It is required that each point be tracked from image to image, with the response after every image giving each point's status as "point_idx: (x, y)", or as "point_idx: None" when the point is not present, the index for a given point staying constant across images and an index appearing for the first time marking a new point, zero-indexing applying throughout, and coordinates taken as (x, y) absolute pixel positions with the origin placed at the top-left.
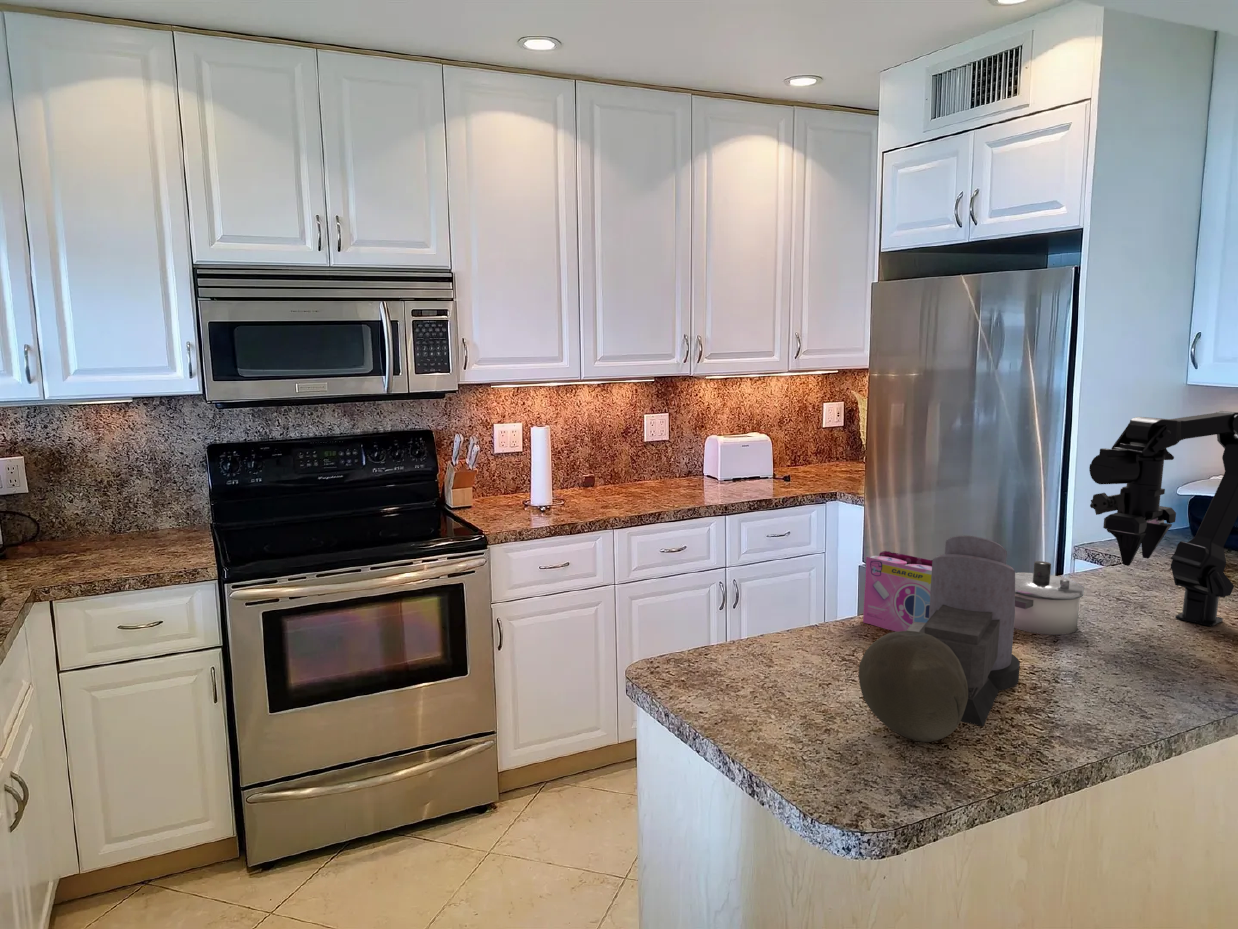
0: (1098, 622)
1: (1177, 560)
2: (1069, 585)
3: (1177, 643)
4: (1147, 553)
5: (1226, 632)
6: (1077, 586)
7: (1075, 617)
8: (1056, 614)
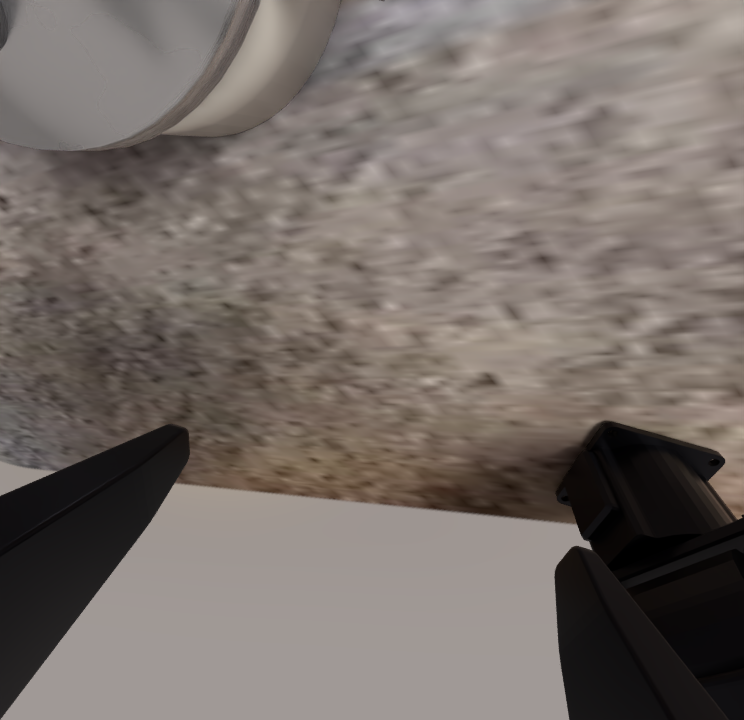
0: (386, 191)
1: (737, 674)
2: (73, 23)
3: (327, 418)
4: (572, 610)
5: (523, 515)
6: (103, 89)
7: None
8: None
